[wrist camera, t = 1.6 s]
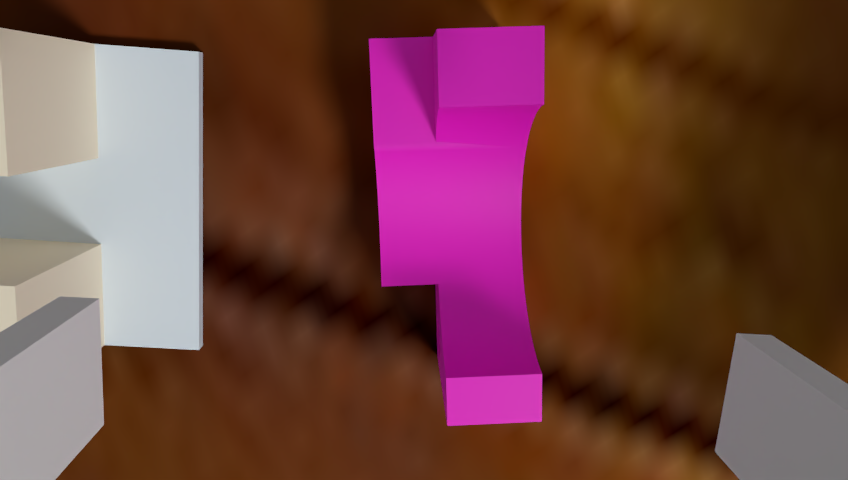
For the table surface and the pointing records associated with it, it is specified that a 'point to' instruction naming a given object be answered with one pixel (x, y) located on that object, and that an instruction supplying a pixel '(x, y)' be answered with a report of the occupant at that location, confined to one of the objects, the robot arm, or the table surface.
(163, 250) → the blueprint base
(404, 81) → the toy block
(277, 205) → the table surface
